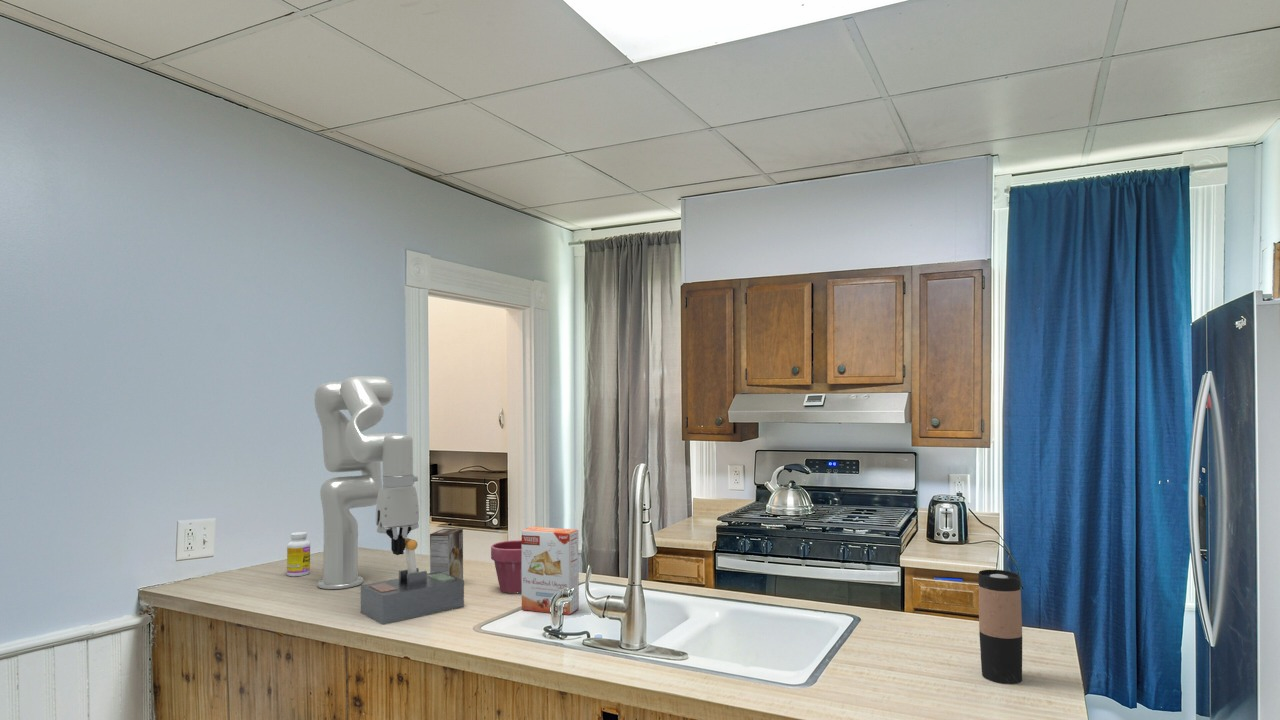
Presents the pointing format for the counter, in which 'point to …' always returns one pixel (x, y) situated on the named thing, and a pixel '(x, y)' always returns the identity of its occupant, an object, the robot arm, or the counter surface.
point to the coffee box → (447, 552)
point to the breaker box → (411, 596)
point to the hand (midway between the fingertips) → (398, 553)
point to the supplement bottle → (298, 555)
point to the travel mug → (1000, 626)
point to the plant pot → (508, 565)
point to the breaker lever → (410, 555)
